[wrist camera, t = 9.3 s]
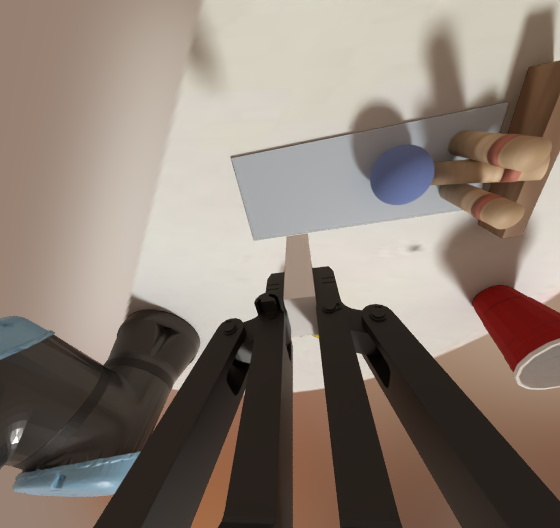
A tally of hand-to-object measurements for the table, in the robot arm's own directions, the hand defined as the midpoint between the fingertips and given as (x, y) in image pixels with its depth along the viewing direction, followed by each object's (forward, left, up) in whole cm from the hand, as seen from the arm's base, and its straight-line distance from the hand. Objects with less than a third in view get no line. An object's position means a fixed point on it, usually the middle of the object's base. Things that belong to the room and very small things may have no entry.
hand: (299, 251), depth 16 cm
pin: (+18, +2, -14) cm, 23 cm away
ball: (+11, +1, -11) cm, 16 cm away
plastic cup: (+29, -22, -15) cm, 39 cm away
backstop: (+24, 0, -14) cm, 28 cm away
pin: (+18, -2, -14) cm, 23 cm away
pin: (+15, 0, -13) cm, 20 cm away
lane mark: (+8, 0, -14) cm, 16 cm away
